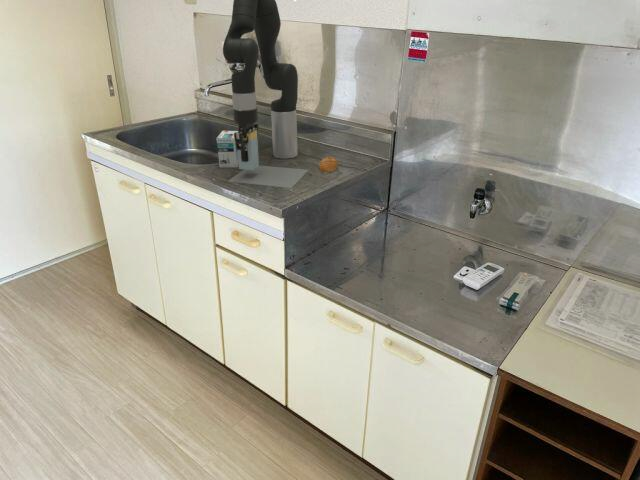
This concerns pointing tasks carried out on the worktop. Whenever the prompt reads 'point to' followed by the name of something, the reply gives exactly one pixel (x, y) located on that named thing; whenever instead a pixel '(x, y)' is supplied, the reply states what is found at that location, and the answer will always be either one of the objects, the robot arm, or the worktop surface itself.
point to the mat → (270, 176)
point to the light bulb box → (227, 149)
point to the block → (250, 153)
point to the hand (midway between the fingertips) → (248, 158)
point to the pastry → (328, 165)
